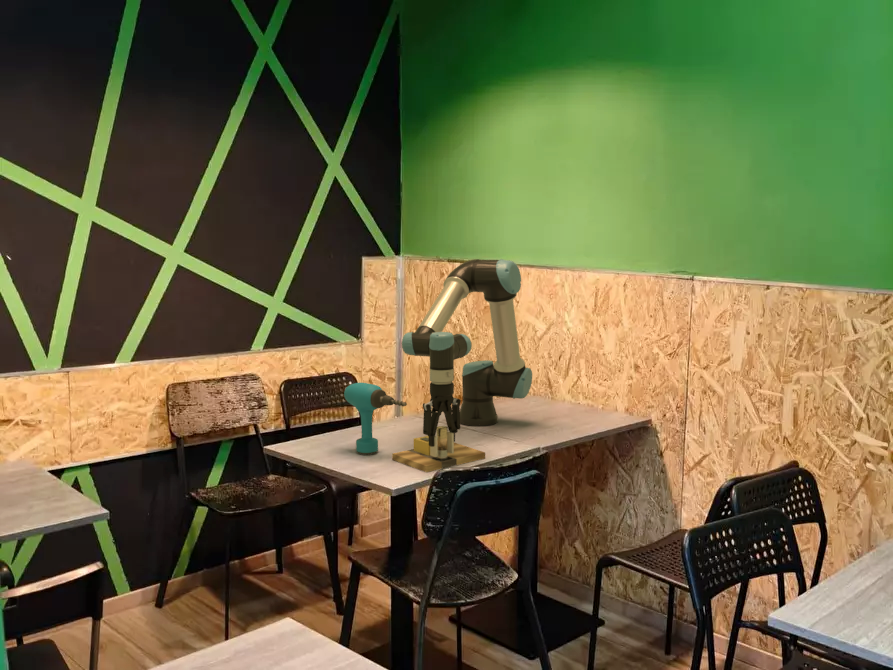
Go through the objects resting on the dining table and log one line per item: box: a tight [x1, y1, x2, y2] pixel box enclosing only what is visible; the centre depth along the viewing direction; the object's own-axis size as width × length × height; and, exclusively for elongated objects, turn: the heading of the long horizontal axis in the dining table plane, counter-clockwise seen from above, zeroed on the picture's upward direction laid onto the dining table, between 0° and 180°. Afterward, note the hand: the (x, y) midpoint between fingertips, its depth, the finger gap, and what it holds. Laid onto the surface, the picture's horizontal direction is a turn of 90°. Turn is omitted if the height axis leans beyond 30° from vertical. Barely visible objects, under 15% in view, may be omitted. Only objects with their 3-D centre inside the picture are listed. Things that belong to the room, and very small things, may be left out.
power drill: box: [343, 382, 408, 456], centre depth 277 cm, size 28×9×23 cm, turn 48°
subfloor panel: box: [391, 442, 486, 473], centre depth 274 cm, size 18×24×2 cm
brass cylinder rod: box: [436, 425, 449, 461], centre depth 267 cm, size 3×3×12 cm
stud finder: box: [413, 435, 430, 456], centre depth 276 cm, size 8×6×4 cm
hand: (442, 454), depth 268 cm, fingers open, 6 cm apart
